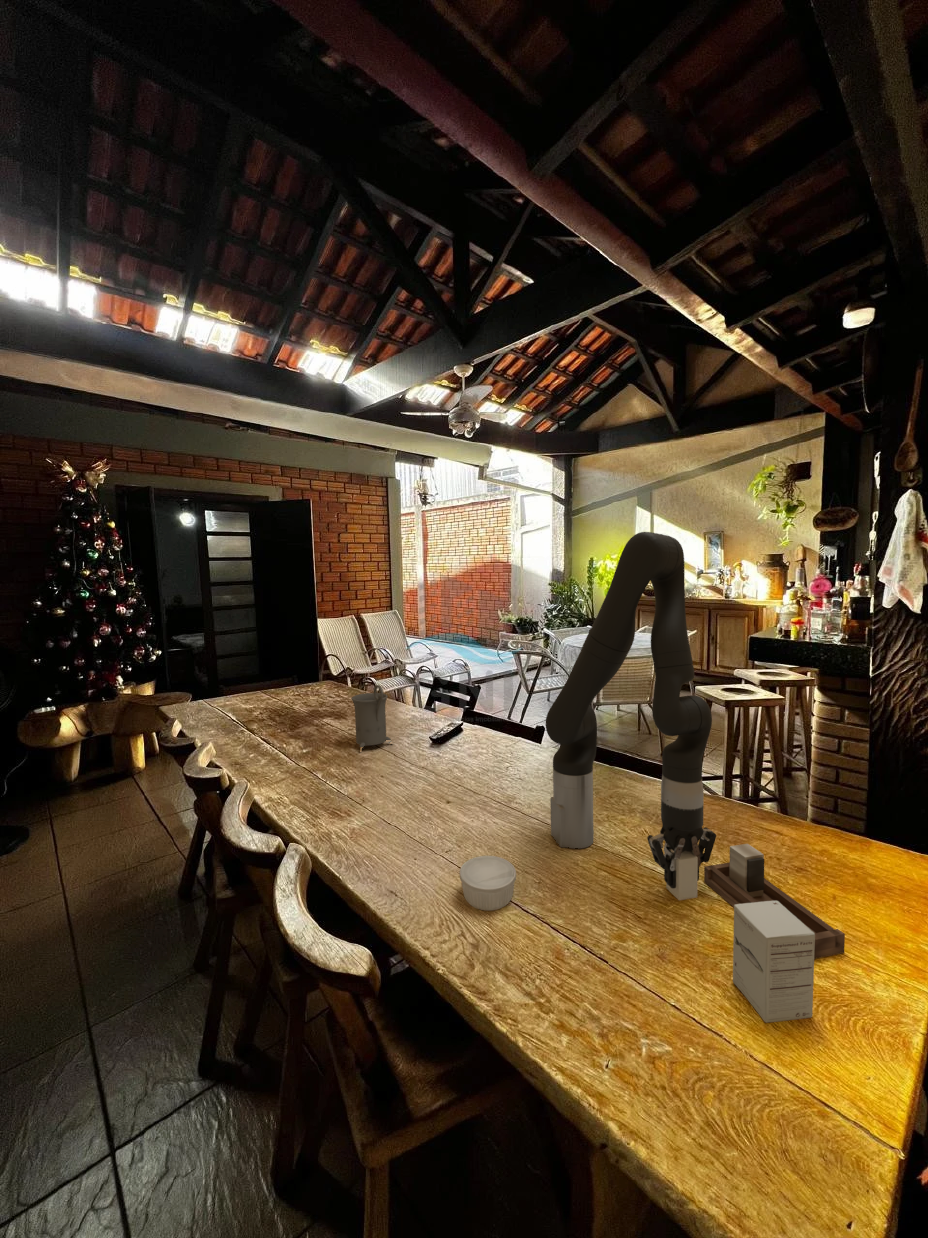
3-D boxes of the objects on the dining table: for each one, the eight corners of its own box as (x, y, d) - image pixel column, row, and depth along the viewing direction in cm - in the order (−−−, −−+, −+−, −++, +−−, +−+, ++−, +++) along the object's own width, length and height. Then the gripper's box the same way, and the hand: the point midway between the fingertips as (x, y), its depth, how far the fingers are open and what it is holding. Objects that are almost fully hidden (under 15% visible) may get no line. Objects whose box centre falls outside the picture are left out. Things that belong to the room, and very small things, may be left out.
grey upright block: (678, 900, 94) (678, 860, 94) (664, 886, 99) (664, 847, 98) (697, 897, 95) (697, 857, 95) (682, 883, 100) (682, 845, 99)
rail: (797, 962, 79) (798, 907, 78) (704, 881, 100) (704, 837, 99) (844, 952, 80) (845, 898, 80) (742, 875, 102) (743, 832, 101)
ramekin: (500, 923, 90) (499, 895, 89) (449, 903, 96) (448, 877, 95) (526, 889, 99) (525, 864, 99) (478, 874, 105) (477, 850, 105)
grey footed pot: (344, 745, 193) (341, 682, 191) (378, 737, 202) (375, 676, 200) (366, 757, 178) (363, 689, 177) (401, 748, 188) (399, 683, 186)
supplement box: (730, 982, 75) (731, 902, 74) (776, 977, 76) (778, 898, 75) (764, 1025, 68) (765, 937, 67) (815, 1019, 68) (817, 932, 68)
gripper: (660, 812, 90) (660, 901, 92) (728, 803, 93) (727, 890, 94) (637, 795, 98) (638, 878, 99) (701, 787, 101) (701, 868, 102)
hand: (681, 883), depth 97 cm, fingers closed on grey upright block, 4 cm apart
